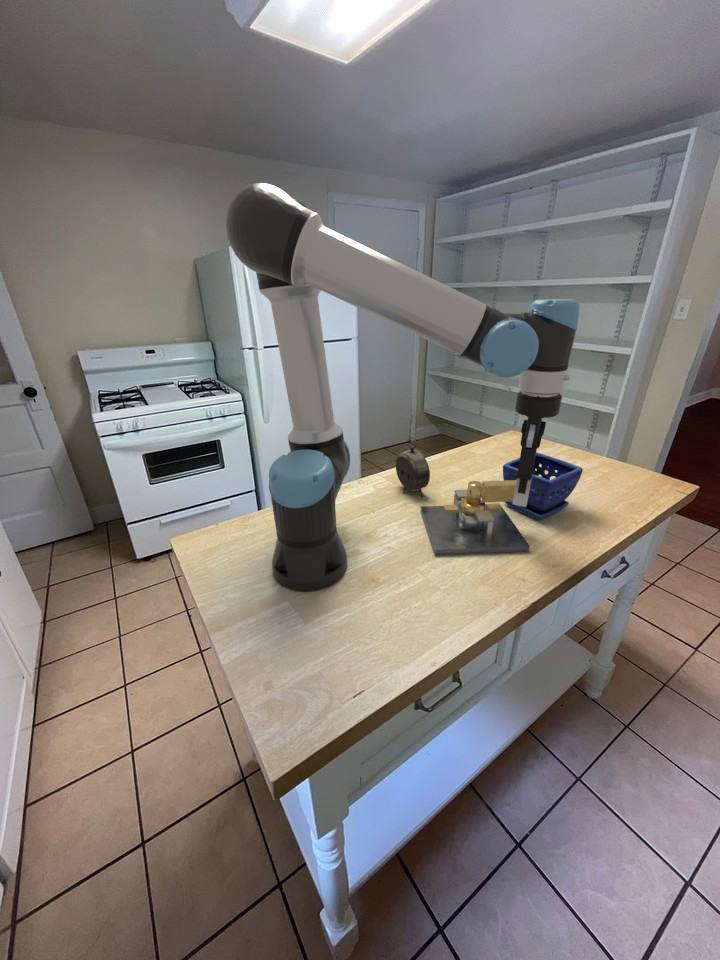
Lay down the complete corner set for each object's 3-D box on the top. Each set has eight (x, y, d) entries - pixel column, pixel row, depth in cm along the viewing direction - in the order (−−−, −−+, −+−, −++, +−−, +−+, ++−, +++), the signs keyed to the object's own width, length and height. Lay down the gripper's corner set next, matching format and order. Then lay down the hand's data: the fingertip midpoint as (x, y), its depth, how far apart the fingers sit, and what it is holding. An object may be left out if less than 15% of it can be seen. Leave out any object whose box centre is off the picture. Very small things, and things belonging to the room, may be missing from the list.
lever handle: (446, 517, 84) (449, 490, 81) (441, 505, 89) (443, 479, 86) (525, 514, 84) (530, 487, 81) (515, 503, 89) (520, 477, 86)
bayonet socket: (434, 555, 81) (436, 526, 77) (420, 511, 97) (421, 486, 94) (528, 552, 81) (534, 523, 78) (498, 508, 97) (502, 483, 94)
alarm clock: (429, 497, 103) (433, 441, 96) (413, 502, 101) (415, 444, 94) (407, 481, 112) (409, 428, 105) (391, 485, 110) (392, 432, 103)
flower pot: (541, 528, 89) (551, 482, 84) (495, 504, 99) (501, 462, 94) (574, 511, 95) (585, 467, 90) (527, 490, 105) (535, 450, 100)
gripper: (561, 402, 63) (536, 523, 74) (563, 386, 74) (541, 494, 84) (513, 398, 66) (495, 514, 77) (522, 383, 77) (505, 487, 87)
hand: (519, 503), depth 80 cm, fingers closed
